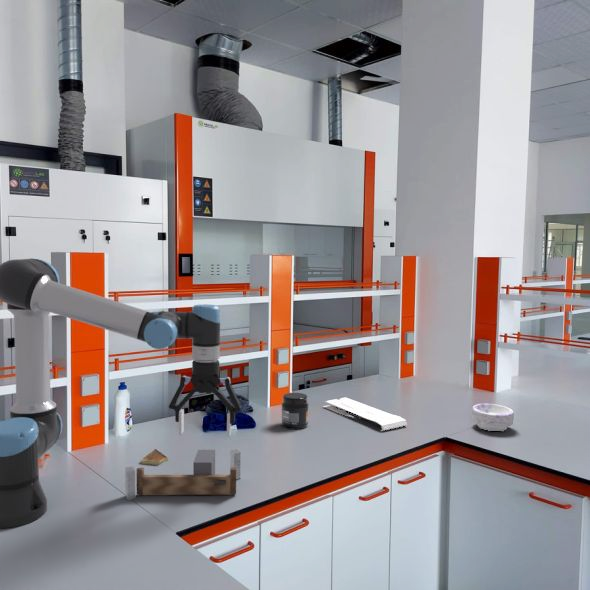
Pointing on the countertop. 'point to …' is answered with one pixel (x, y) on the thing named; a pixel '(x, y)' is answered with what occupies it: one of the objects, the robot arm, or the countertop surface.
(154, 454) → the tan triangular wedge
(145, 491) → the gate
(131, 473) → the grey blocks
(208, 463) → the rubber block
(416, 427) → the countertop surface
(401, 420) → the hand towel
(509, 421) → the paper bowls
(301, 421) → the supplement container
